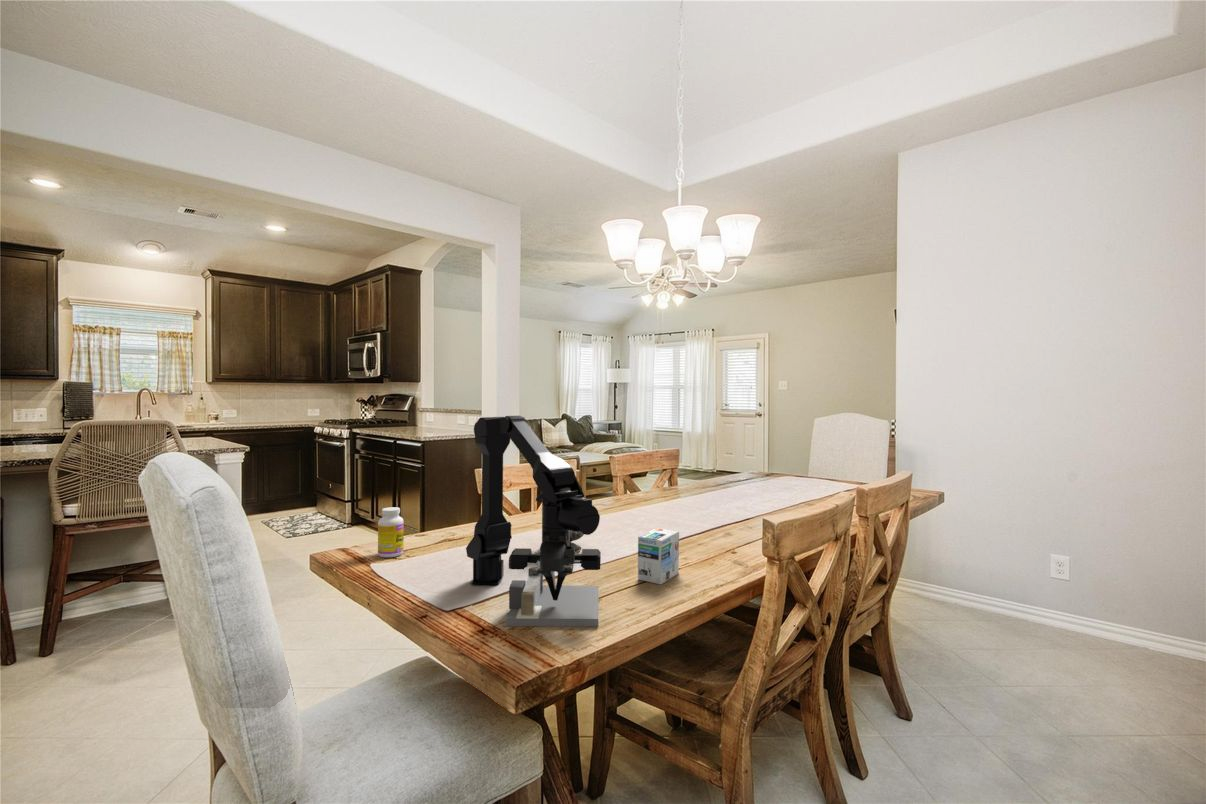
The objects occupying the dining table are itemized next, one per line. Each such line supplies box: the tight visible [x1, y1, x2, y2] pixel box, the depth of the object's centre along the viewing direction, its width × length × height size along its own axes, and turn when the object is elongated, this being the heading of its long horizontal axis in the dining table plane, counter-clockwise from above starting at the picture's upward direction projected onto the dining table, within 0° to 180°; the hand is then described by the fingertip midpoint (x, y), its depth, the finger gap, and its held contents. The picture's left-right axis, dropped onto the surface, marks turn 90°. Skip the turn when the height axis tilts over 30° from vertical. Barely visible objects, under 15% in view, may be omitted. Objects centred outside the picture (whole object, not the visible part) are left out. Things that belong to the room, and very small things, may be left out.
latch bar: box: [521, 566, 544, 615], centre depth 115 cm, size 15×3×5 cm, turn 0°
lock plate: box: [506, 579, 600, 627], centre depth 115 cm, size 18×18×6 cm
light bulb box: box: [637, 527, 680, 585], centre depth 136 cm, size 11×7×11 cm, turn 148°
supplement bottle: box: [377, 506, 405, 559], centre depth 151 cm, size 7×7×13 cm
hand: (555, 599), depth 113 cm, fingers closed
